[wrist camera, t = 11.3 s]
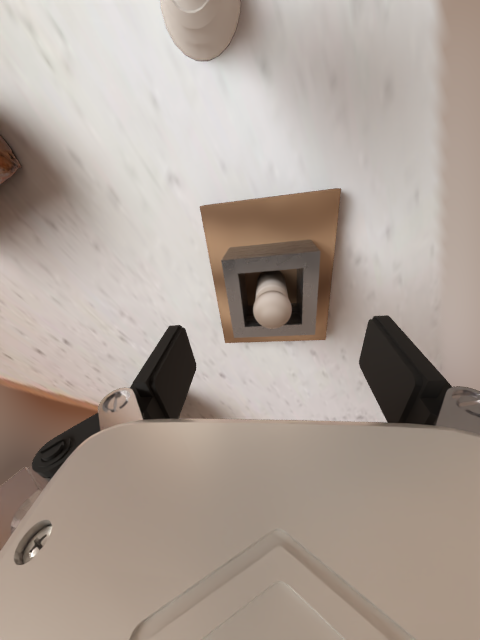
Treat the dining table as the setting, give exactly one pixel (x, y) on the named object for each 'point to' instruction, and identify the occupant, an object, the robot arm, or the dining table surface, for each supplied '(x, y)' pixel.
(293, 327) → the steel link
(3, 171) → the food item
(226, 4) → the chalice
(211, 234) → the brown flat pegged piece
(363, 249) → the dining table surface
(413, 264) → the dining table surface
